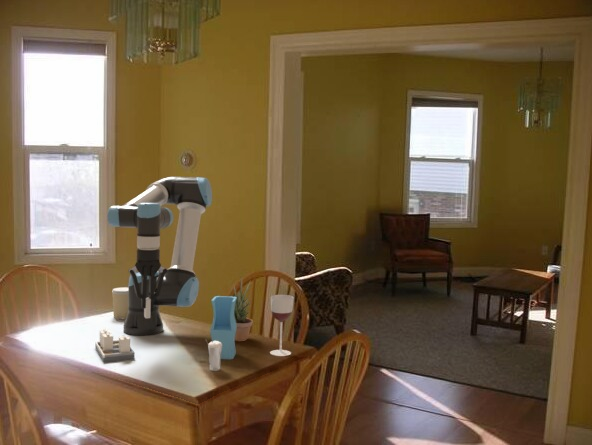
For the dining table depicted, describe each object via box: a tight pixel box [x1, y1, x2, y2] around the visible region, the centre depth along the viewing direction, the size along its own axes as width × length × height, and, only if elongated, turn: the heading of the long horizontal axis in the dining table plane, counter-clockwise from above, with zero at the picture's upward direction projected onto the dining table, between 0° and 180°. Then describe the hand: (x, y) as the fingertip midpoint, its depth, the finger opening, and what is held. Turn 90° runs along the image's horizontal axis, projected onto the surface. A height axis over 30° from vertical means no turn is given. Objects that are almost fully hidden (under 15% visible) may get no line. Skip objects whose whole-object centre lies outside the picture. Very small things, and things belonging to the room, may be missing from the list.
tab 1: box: [99, 328, 111, 346], centre depth 216 cm, size 3×4×5 cm
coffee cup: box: [111, 286, 129, 320], centre depth 265 cm, size 9×9×12 cm
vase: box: [209, 295, 237, 360], centre depth 214 cm, size 8×8×20 cm
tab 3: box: [118, 334, 131, 353], centre depth 209 cm, size 3×4×5 cm
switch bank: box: [94, 339, 135, 363], centre depth 213 cm, size 10×17×2 cm, turn 26°
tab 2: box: [102, 333, 114, 350], centre depth 211 cm, size 3×4×5 cm
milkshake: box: [205, 339, 222, 372], centre depth 199 cm, size 4×5×10 cm
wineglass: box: [269, 294, 295, 357], centre depth 219 cm, size 8×9×20 cm
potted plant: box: [230, 276, 254, 342], centre depth 235 cm, size 10×10×25 cm
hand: (147, 317), depth 211 cm, fingers closed
